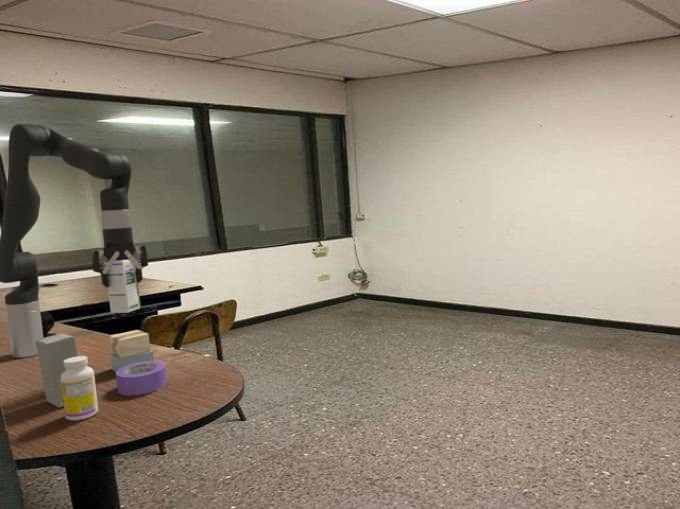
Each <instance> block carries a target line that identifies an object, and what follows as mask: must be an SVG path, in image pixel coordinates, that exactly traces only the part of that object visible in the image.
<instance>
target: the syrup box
mask: <svg viewBox="0 0 680 509" xmlns="http://www.w3.org/2000/svg"><path fill="white" fill-rule="evenodd" d="M104 262H105V261H104ZM105 263H106V262H105ZM107 274H108V277H109V287H107V291H108V299H109V300H108V301H109V308H110V312H111V313H112V314H113V313H115V314H123V313H124V314H125V313H126V314H127V313H131V312H133V311H136V310H140V309H141V300H140V299H141V298H140V292H139V283H138V280H137V271H136V266H135V265H134V264H133V263H132V261H131V260H130V259H126V260H115V261H114V263H113V265H112V266H111V267H110V268H109V270H108V272H107Z"/></svg>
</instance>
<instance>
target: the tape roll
mask: <svg viewBox="0 0 680 509" xmlns="http://www.w3.org/2000/svg"><path fill="white" fill-rule="evenodd" d="M115 378H116V387H117V393H118V394H119V395H121V396H126V397H132V395H135V396H142V395H141V394H143V395H147V394H146V393H148V394H151V393H154V392H153V391H155V392H157V391H159V390H158V389H160V388H162V387H163V386H165V385H166V383H167V384H168V380H167V379H168V378H167V369H166V363H165V362H162V361H159V360H158V361H157V360H154V361H145V362H138V363H134V364H130V365H127V366H124V367H122V368H120V369H119V370H117V372H115ZM166 386H167V385H166ZM166 386H165V387H166ZM163 388H164V387H163ZM163 388H162V389H163ZM156 390H157V391H156ZM160 390H161V389H160ZM150 392H151V393H150Z"/></svg>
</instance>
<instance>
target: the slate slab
mask: <svg viewBox="0 0 680 509" xmlns="http://www.w3.org/2000/svg"><path fill="white" fill-rule="evenodd" d="M153 352H154V351H152V350H151V349H150V352H146V353H141V354H137V355H133V356H129V357H124V358H120V357H118V356H116V355H114V354H113V353H111V352H109V359H110V367H111V370H113V372H115V373H116V372H117V370H119V369H120V368H122V367H124V366H127V365H130V364H134V363H138V362H145V361H155V360H154V353H153Z"/></svg>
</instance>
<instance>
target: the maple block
mask: <svg viewBox="0 0 680 509" xmlns="http://www.w3.org/2000/svg"><path fill="white" fill-rule="evenodd" d="M109 340H110V350H111V352H110V353H113V354H114V355H116V356H118V357H120V358H124V357H129V356H133V355H137V354H141V353H146V352H150V350H151V345H150V344H151V343H150V336H149V333H147V332H144V331H142V330H139V329H135V330H130V331H126V332H122V333H117V334H116V333H115V334H110V335H109Z"/></svg>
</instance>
